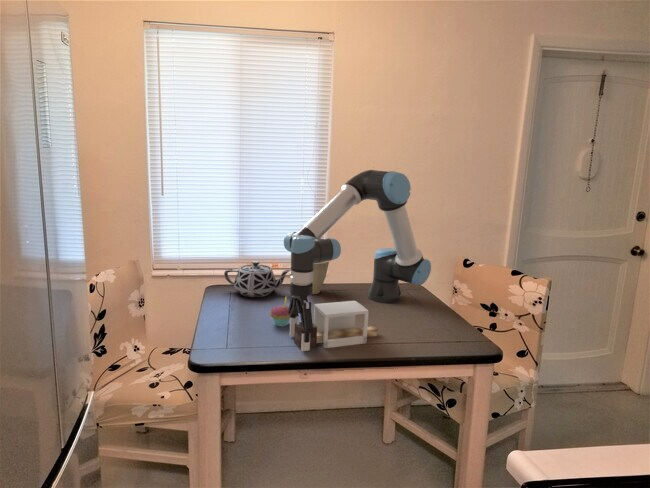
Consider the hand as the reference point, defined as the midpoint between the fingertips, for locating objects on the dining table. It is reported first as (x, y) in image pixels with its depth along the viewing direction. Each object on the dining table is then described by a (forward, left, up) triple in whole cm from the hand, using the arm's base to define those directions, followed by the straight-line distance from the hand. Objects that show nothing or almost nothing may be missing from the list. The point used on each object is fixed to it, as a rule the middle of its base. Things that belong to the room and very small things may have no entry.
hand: (299, 342), depth 156 cm
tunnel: (-15, 0, -1) cm, 15 cm away
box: (-2, +1, -1) cm, 2 cm away
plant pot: (-24, -54, -1) cm, 59 cm away
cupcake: (+1, -19, -1) cm, 19 cm away
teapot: (+1, -58, -1) cm, 58 cm away
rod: (-17, -1, -1) cm, 17 cm away
